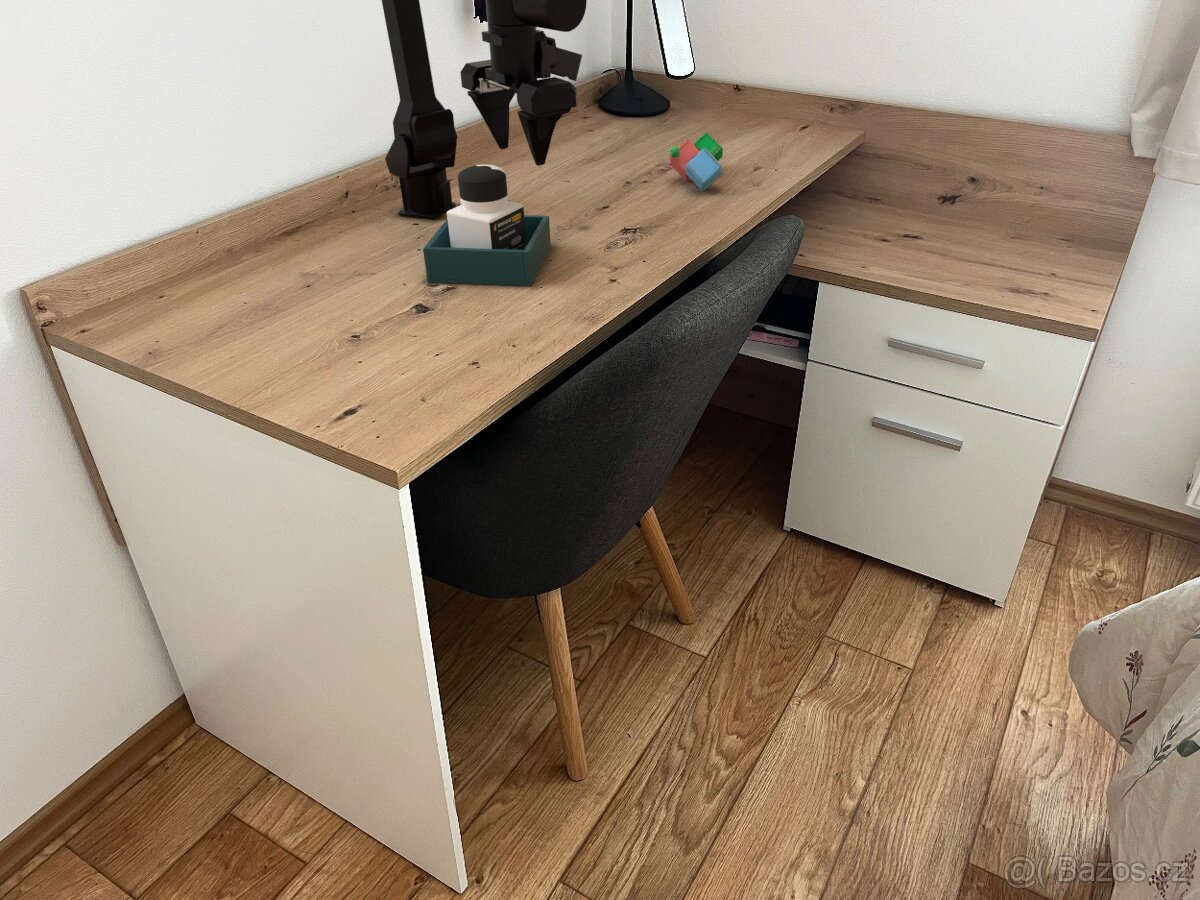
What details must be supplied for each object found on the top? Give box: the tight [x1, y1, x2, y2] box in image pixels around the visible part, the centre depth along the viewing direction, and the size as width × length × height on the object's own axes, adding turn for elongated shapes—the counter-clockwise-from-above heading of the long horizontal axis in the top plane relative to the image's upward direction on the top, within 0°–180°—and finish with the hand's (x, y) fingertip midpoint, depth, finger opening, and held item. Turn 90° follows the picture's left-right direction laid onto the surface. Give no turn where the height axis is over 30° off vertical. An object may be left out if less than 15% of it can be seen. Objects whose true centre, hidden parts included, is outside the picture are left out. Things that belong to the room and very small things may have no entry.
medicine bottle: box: [446, 164, 526, 250], centre depth 120 cm, size 7×7×12 cm
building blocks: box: [669, 131, 724, 192], centre depth 148 cm, size 8×8×12 cm
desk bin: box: [422, 214, 552, 287], centre depth 122 cm, size 13×13×4 cm
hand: (521, 156), depth 118 cm, fingers open, 9 cm apart
